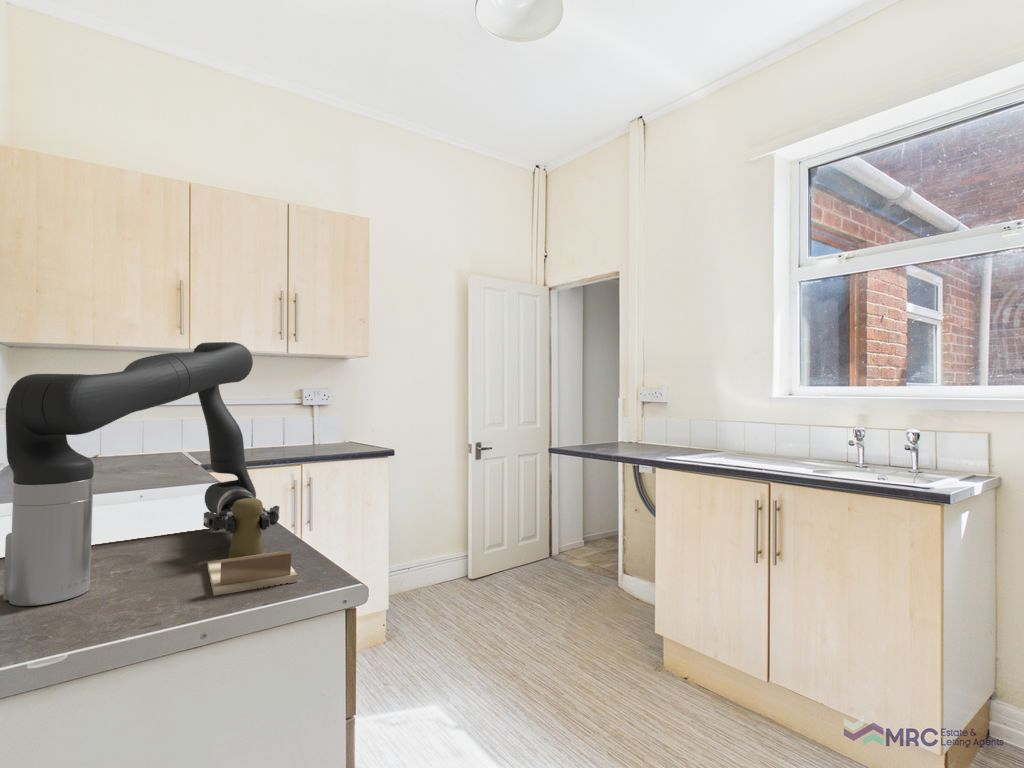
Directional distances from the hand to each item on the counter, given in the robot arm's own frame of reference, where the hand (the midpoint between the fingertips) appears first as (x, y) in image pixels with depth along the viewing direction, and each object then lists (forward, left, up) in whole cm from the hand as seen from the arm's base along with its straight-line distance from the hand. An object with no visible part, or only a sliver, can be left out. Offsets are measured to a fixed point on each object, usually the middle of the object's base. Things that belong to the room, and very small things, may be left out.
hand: (248, 525), depth 99 cm
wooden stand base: (+5, -6, -7) cm, 10 cm away
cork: (-2, +2, -7) cm, 7 cm away
